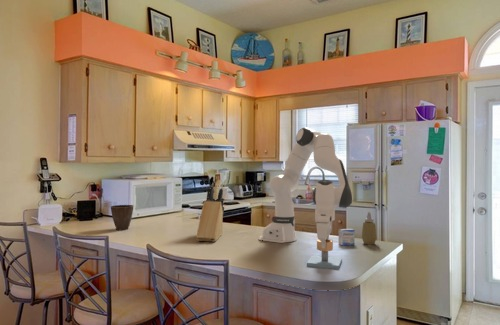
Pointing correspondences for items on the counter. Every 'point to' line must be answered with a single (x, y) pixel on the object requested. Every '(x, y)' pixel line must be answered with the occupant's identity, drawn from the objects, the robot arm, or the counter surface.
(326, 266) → the post base
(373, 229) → the squeeze bottle
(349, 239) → the medicine box
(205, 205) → the knife block
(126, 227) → the plant pot
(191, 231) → the counter surface
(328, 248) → the copper ring
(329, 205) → the robot arm
